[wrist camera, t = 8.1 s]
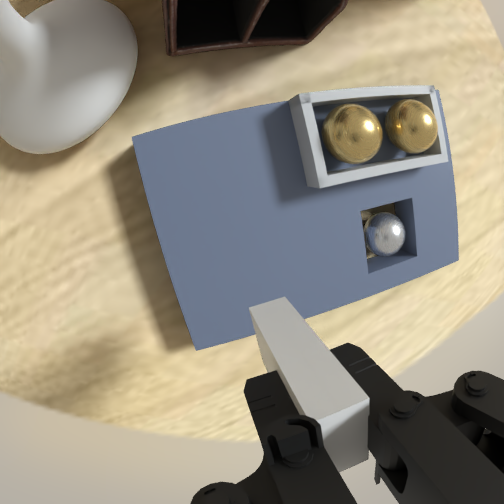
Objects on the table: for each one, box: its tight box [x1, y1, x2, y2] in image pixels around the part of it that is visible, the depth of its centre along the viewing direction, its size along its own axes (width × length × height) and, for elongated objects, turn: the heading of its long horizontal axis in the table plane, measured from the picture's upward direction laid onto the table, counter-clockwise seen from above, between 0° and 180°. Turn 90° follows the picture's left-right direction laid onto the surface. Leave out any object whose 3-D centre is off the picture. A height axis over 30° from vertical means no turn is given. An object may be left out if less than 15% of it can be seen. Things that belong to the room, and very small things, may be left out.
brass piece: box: [322, 104, 383, 164], centre depth 17 cm, size 4×4×4 cm
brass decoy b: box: [385, 99, 438, 153], centre depth 18 cm, size 4×4×4 cm
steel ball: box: [363, 212, 405, 256], centre depth 22 cm, size 3×3×3 cm
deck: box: [132, 85, 459, 351], centre depth 20 cm, size 22×14×4 cm, turn 104°
